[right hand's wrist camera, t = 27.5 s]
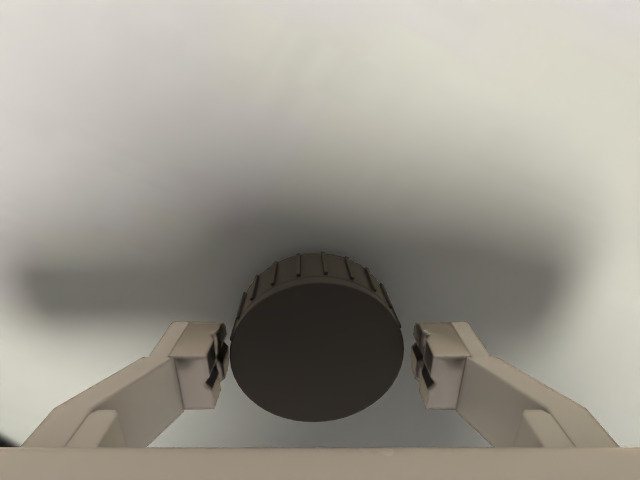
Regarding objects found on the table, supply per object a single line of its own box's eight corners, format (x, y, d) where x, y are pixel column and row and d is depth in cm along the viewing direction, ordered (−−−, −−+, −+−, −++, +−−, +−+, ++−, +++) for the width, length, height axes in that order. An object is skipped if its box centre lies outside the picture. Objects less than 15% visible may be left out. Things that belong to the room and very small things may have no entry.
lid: (406, 352, 13) (424, 394, 11) (274, 395, 13) (270, 442, 11) (365, 228, 11) (378, 253, 9) (211, 282, 11) (194, 317, 9)
